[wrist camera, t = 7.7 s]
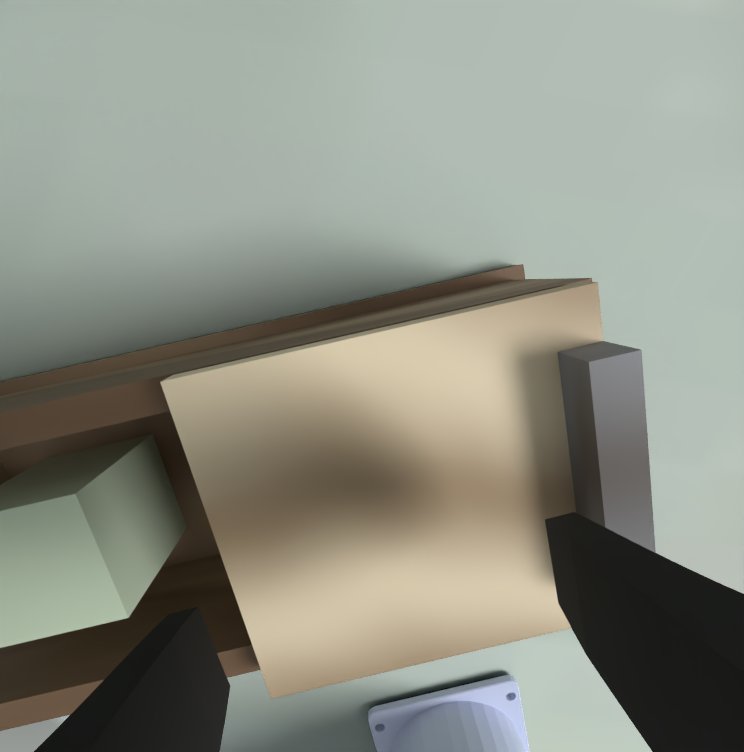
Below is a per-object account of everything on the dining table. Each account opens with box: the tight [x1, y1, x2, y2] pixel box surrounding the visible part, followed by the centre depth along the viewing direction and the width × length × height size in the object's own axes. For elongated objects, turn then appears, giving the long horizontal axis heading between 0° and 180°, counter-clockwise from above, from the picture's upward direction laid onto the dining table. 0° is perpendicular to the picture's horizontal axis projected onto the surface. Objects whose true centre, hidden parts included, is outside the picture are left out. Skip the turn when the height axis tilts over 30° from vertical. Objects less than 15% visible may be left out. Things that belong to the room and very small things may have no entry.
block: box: [0, 434, 187, 648], centre depth 15 cm, size 4×4×5 cm
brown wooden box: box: [0, 264, 592, 731], centre depth 15 cm, size 11×24×6 cm, turn 102°
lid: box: [160, 282, 655, 699], centre depth 11 cm, size 10×11×2 cm
